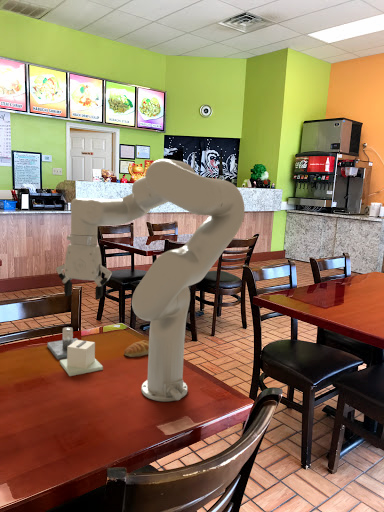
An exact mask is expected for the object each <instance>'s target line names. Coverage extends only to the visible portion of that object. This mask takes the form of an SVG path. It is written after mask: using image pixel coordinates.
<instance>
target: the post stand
mask: <svg viewBox="0 0 384 512" xmlns="http://www.w3.org/2000/svg"><path fill="white" fill-rule="evenodd" d="M73 332H74V329H73V327H69V326H67V327H63V328H62V339H61V340H55V341H49V342H48V341H47V348H48V349H49V351H50V352H51V354H52V355H53V356H54V357H55V359H56V360H64V359H67V347H68V346H69V345H70V344H72V343H73V342H75V341H76V340H79V339H78V338H77V337H75V338H73V337H74V333H73Z"/></svg>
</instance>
